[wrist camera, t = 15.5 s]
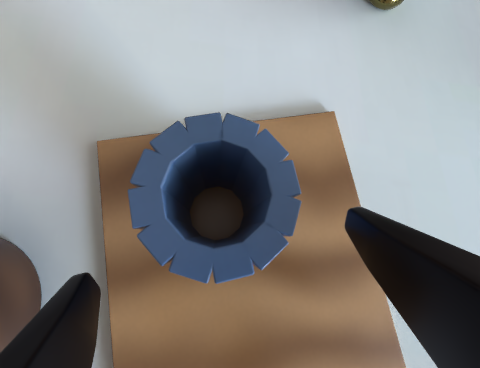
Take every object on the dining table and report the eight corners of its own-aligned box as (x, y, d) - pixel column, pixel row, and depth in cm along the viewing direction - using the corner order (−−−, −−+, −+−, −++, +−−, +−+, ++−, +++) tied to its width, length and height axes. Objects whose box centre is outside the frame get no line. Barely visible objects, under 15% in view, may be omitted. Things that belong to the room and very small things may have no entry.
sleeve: (244, 267, 16) (275, 306, 7) (161, 240, 16) (97, 249, 7) (268, 187, 17) (317, 143, 9) (191, 161, 17) (168, 92, 9)
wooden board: (408, 388, 16) (413, 392, 15) (124, 476, 13) (121, 484, 13) (331, 113, 19) (334, 110, 19) (99, 143, 17) (96, 140, 16)
